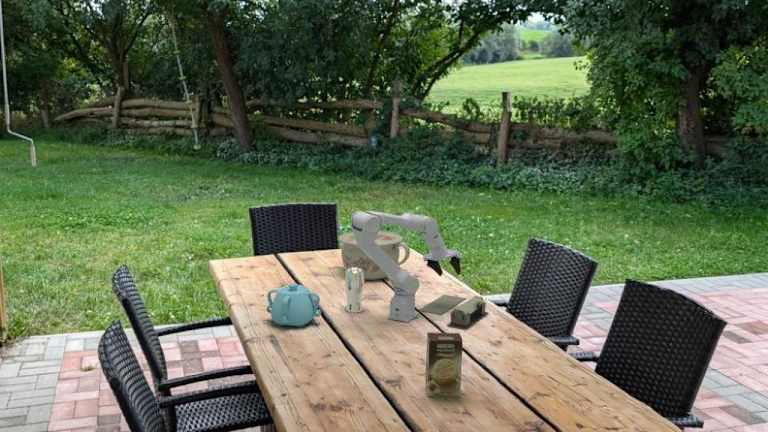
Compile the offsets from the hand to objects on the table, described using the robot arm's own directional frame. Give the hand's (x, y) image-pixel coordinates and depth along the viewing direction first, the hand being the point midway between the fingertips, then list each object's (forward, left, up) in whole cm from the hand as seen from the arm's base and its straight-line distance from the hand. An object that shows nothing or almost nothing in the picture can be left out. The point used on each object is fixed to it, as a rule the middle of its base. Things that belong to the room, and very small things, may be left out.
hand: (450, 273), depth 277 cm
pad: (+1, +3, -13) cm, 13 cm away
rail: (-10, -12, -10) cm, 18 cm away
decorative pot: (-43, +39, -13) cm, 60 cm away
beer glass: (-21, +28, -13) cm, 37 cm away
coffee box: (-69, -30, -13) cm, 76 cm away
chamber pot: (+21, +46, -13) cm, 53 cm away
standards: (-10, -12, -13) cm, 20 cm away
